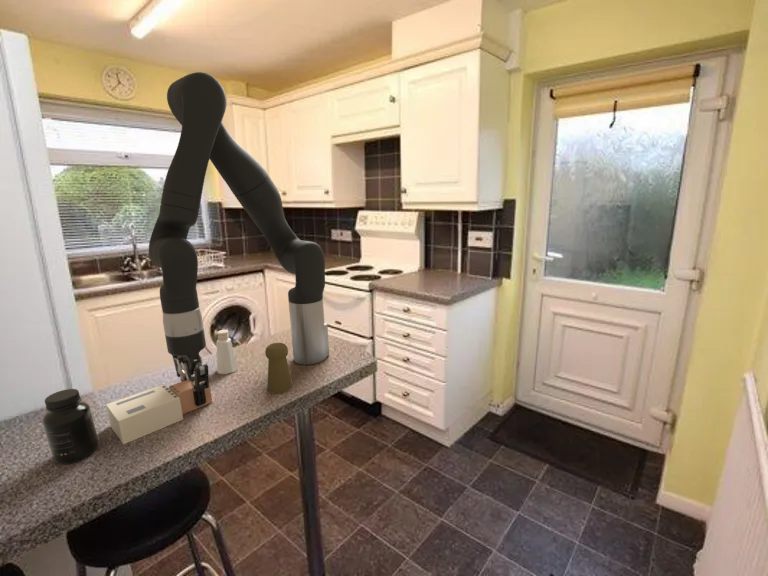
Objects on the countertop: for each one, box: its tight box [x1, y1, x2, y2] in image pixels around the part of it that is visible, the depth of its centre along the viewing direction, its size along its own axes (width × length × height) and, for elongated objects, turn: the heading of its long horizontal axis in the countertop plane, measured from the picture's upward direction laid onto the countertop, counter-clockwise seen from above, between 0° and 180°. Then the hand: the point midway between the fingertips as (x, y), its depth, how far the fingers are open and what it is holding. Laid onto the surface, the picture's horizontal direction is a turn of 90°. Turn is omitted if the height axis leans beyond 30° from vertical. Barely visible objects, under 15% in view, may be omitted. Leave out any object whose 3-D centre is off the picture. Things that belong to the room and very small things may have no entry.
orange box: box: [168, 380, 213, 415], centre depth 88 cm, size 7×5×5 cm
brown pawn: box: [264, 342, 294, 394], centre depth 95 cm, size 6×6×11 cm
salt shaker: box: [215, 329, 239, 375], centre depth 104 cm, size 5×5×11 cm
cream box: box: [105, 384, 184, 445], centre depth 82 cm, size 11×9×5 cm
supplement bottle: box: [42, 388, 100, 465], centre depth 72 cm, size 7×7×12 cm
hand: (195, 399), depth 89 cm, fingers closed on orange box, 5 cm apart
